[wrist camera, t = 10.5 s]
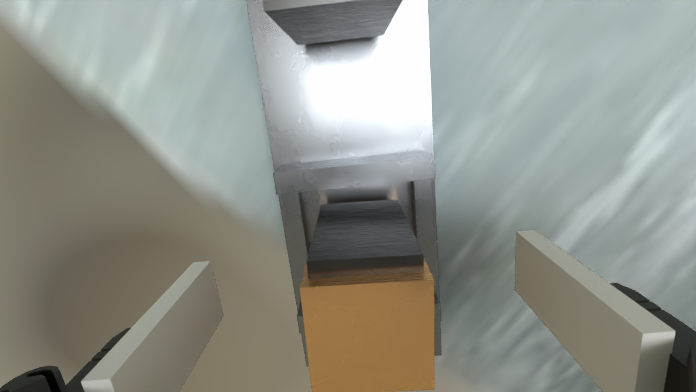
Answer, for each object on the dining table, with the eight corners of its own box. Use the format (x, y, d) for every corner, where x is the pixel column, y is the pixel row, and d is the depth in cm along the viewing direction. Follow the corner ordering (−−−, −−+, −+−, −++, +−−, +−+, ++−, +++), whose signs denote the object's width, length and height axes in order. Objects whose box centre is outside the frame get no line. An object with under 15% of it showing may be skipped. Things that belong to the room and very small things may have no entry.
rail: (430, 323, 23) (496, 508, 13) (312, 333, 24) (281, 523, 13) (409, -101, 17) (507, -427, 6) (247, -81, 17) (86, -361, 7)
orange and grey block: (400, 271, 19) (433, 389, 11) (327, 276, 19) (312, 395, 12) (397, 190, 18) (434, 261, 10) (319, 195, 18) (297, 269, 10)
